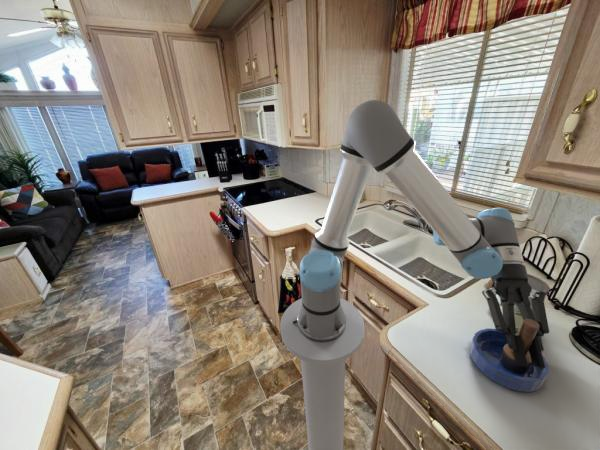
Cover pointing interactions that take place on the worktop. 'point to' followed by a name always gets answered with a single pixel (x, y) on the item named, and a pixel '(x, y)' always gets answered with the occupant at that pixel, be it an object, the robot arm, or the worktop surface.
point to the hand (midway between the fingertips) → (530, 365)
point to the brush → (527, 337)
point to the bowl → (488, 360)
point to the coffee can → (536, 285)
